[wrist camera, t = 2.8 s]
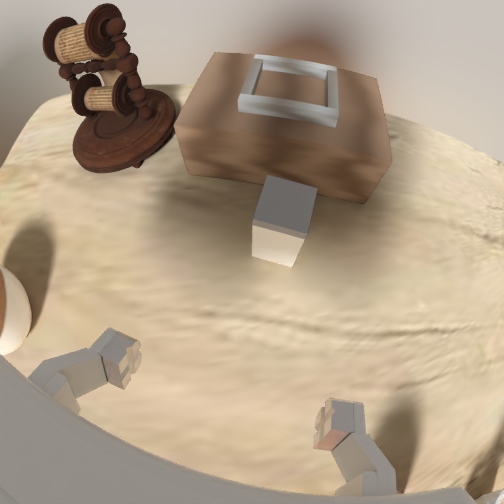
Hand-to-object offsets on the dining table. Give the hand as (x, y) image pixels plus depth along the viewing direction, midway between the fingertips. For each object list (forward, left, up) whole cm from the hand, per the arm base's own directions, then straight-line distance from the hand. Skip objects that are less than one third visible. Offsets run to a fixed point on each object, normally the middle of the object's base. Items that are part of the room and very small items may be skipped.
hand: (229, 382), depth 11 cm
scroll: (+21, -24, -14) cm, 35 cm away
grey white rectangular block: (-1, -12, -14) cm, 19 cm away
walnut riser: (0, -26, -14) cm, 29 cm away
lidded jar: (+28, +3, -14) cm, 31 cm away
